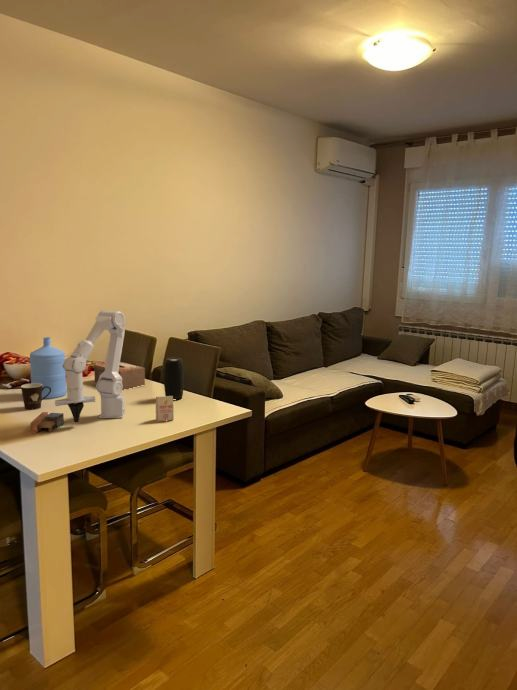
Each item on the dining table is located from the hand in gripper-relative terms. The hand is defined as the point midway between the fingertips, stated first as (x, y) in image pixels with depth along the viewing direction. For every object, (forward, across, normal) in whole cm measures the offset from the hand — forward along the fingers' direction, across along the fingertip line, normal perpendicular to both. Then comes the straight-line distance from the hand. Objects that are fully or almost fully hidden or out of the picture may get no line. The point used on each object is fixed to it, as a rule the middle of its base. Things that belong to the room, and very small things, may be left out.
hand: (76, 421), depth 194 cm
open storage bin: (+2, +7, -5) cm, 9 cm away
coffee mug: (+2, +11, -35) cm, 37 cm away
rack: (+2, +10, -4) cm, 11 cm away
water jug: (+2, +3, -56) cm, 56 cm away
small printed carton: (+2, -33, +7) cm, 34 cm away
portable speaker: (+2, -49, -24) cm, 54 cm away
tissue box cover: (+3, -33, -65) cm, 73 cm away
